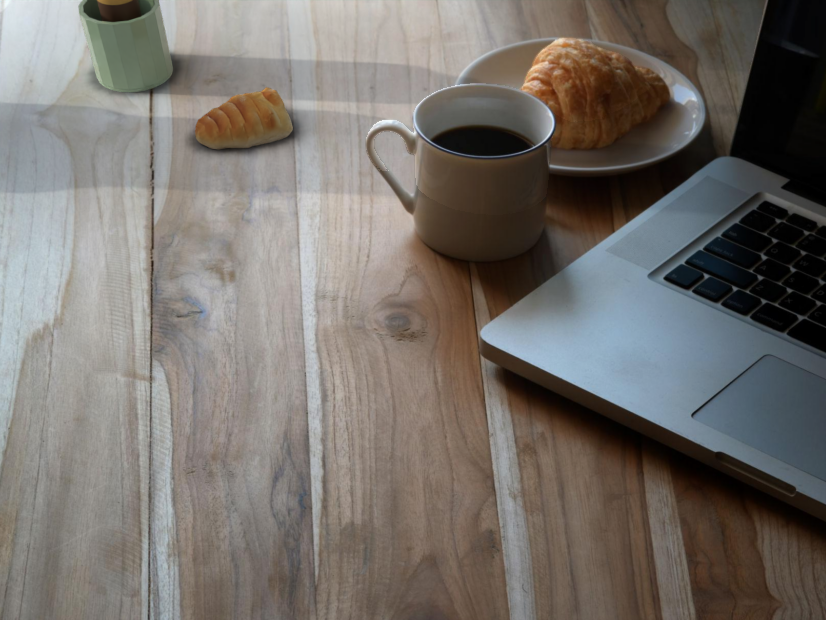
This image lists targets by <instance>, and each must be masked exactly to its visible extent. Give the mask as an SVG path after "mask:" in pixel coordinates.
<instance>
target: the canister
mask: <svg viewBox="0 0 826 620" xmlns="http://www.w3.org/2000/svg"><path fill="white" fill-rule="evenodd" d="M138 1H139V5H140V10H141V14H142V16H141V17H138V18H135V19H132V20H129V21H120V22H106V21H102V18H101V14H100V10H99V6H98V3H97V0H81V1H80V3H79V4H78V7H77V8H78V15H79V19H80V23H81V26H82V31H83V33H84V37H85V41H86V44H87V48H88V51H89V55H90V59H91V62H92V66H93V69H94V73H95V77H96V79H97V81H98V82H99V84H100V85H101V86H103V87H104V88H105V89H108V90H110V91H114V92H119V93H138V92H139V93H140V92H144V91H148V90H151V89H154V88H157V87H158V86H161V85H163V84H165V83H166V82H167V81H168V80H169V79H170V78H171V76H172V75H173V72H174V67H173V61H172V57H171V52H170V46H169V42H168V38H167V37H168V36H167V33H166V28H165V27H166V26H165V22H164V18H163V13H162V8H161V4H160V0H138Z"/></svg>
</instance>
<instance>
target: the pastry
mask: <svg viewBox="0 0 826 620" xmlns="http://www.w3.org/2000/svg"><path fill="white" fill-rule="evenodd" d="M194 129H195V130H194V134H195V139H196V141H197V142H198V143H199V144H201V145H203V146H205V147H208V148H209V149H213V150H224V149H249V148H252V147H254V146H260V145H265V144H270V143H274V142H276V141H280V140H283V139H285V138H288V137H289V136H290V135H291V133H292V132H293V130H294V127H293V123H292V119H291V117H290V114H289V112H288V111H287V108H286V106H285V102H284V100H283V98H282V97H281V95H280V93H279V92H278V91H277V89H273V88H271V87H267V86H266V87H265V88H263V89H262V90H261V91H253V92H245V93H243V94H241V93H240V94H239V93H238V94H235V95H232V96H231V97H230V98H229V99H228V100H227V101H225V102H224V103H221V105H220V106H217V107H213V108H212V109H210V110H209V111H208V112H206V113H205V114H204V115H202V116H201V117H200V118H198V119H197V122H196V124H195V128H194Z"/></svg>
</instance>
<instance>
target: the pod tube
mask: <svg viewBox="0 0 826 620" xmlns="http://www.w3.org/2000/svg"><path fill="white" fill-rule="evenodd" d="M97 3H98V6H99V10H100V14H101V18H102V21H106V22H120V21H129V20H132V19H135V18H138V17H141V16H142V14H141V10H140V5H139V1H138V0H97Z"/></svg>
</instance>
